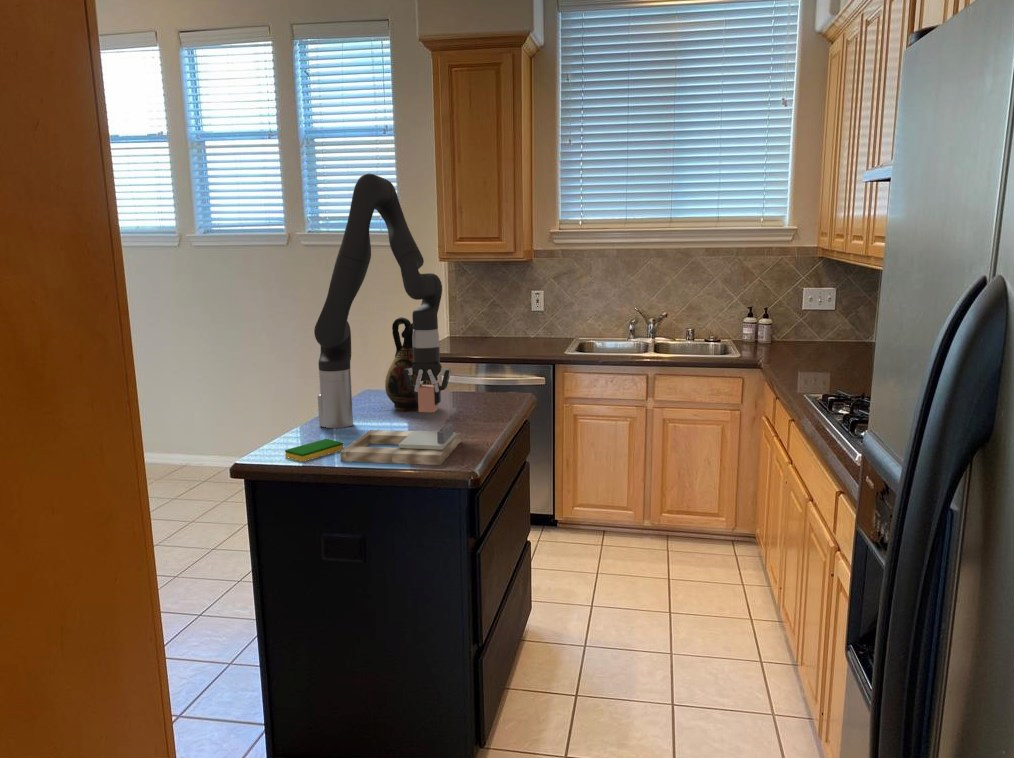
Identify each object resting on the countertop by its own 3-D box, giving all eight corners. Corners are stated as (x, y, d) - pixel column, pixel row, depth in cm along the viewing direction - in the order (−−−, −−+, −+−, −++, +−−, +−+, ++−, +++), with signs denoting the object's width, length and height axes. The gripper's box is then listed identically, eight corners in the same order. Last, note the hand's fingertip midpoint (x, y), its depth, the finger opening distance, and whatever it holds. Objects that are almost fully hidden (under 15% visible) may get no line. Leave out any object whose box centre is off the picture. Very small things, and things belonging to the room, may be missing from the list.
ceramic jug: (442, 406, 251) (439, 317, 246) (412, 415, 238) (409, 321, 233) (403, 401, 260) (400, 314, 255) (372, 409, 247) (368, 319, 242)
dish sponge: (344, 450, 200) (344, 442, 199) (302, 463, 189) (302, 454, 188) (326, 446, 204) (326, 438, 203) (284, 458, 193) (284, 449, 192)
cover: (398, 448, 190) (398, 433, 189) (414, 434, 203) (413, 420, 203) (442, 449, 188) (442, 434, 187) (455, 435, 202) (455, 421, 201)
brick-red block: (418, 411, 213) (417, 387, 211) (422, 408, 217) (422, 384, 216) (434, 412, 212) (433, 387, 211) (438, 408, 216) (437, 384, 215)
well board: (340, 461, 189) (340, 451, 188) (370, 438, 210) (370, 430, 210) (440, 465, 184) (440, 455, 184) (461, 441, 206) (460, 433, 205)
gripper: (397, 346, 209) (400, 406, 212) (447, 347, 206) (449, 407, 209) (405, 343, 216) (407, 401, 219) (453, 343, 214) (455, 401, 217)
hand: (428, 403), depth 214 cm, fingers closed on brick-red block, 4 cm apart
